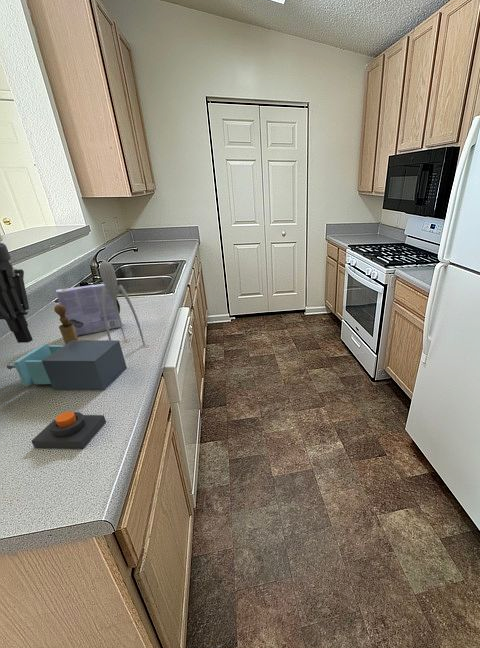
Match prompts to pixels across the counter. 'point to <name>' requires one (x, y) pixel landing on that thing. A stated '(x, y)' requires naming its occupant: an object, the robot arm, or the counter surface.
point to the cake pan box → (88, 308)
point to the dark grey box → (85, 365)
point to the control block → (70, 433)
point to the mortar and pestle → (65, 325)
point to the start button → (65, 419)
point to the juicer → (113, 294)
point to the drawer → (34, 365)
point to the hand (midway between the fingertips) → (25, 341)
